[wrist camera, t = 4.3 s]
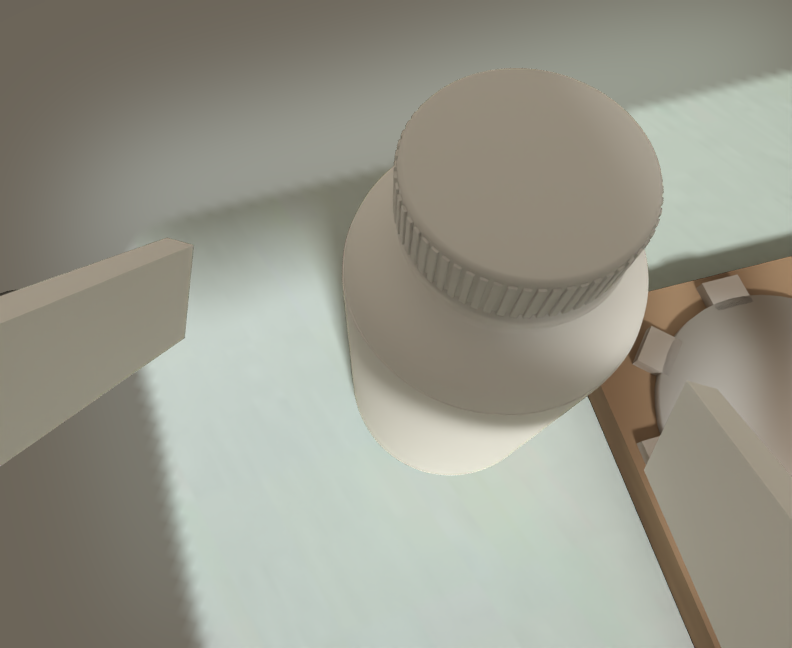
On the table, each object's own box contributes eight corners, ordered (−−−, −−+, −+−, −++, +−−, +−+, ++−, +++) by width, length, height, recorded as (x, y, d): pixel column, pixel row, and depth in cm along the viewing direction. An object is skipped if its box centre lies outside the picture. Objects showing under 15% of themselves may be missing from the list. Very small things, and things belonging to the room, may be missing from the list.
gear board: (816, 260, 28) (847, 238, 26) (1006, 551, 23) (1062, 550, 21) (557, 325, 26) (572, 306, 24) (700, 661, 21) (732, 670, 19)
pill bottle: (328, 448, 23) (264, 277, 10) (385, 285, 26) (399, -20, 13) (514, 506, 23) (732, 413, 9) (549, 332, 26) (751, 65, 12)
